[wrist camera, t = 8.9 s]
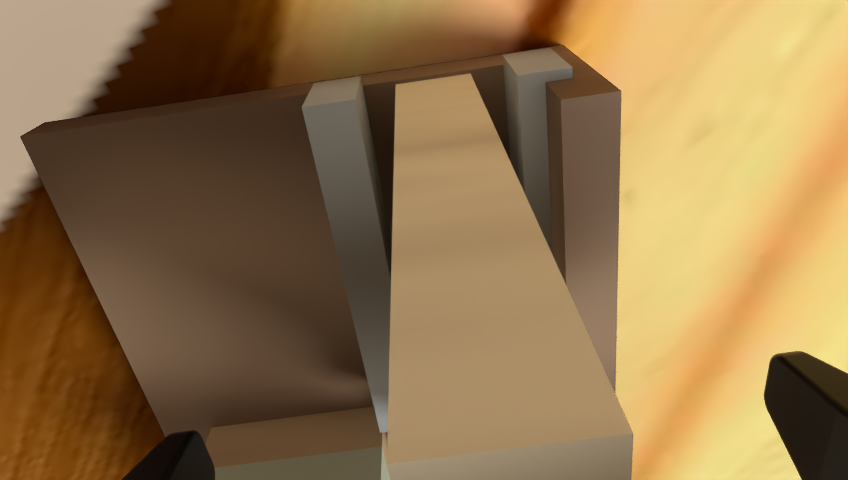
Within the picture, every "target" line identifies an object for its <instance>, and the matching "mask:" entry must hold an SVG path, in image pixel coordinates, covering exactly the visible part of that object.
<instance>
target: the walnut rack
mask: <svg viewBox="0 0 848 480" xmlns="http://www.w3.org/2000/svg"><path fill="white" fill-rule="evenodd" d="M469 73H471V76H472V78H473V80H474V82H475V85H476V87H477V89H478V91H479V93H480V96H481V98H482V100H483V102H484V104H485V107H486V109H487V111H488V113H489V115H490V118H491V120H492V122H493V124H494V127H495V129H496V131H497V133H498V135H499V138H500V140H501V142H502V144H503V146H504V149H505V151H506V153H507V155H508V158H509V160H510V162H511V164H512V166H513V169H514V171H515V173H516V175H517V177H518V180H519V182H520V184H521V186H522V189H523V191H524V193H525V195H526V197H527V200H528V202H529V204H530V206H531V208H532V211H533V213H534V215H535V217H536V220H537V222H538V224H539V226H540V228H541V231H542V233H543V235H544V237H545V239H546V242H547V244H548V246H549V248H550V251H551V253H552V255H553V257H554V259H555V262H556V264H557V266H558V268H559V270H560V273H561V275H562V277H563V279H564V282H565V284H566V286H567V288H568V290H569V293H570V295H571V297H572V299H573V301H574V304H575V306H576V308H577V310H578V313H579V315H580V317H581V319H582V321H583V324H584V326H585V328H586V330H587V332H588V335H589V337H590V339H591V341H592V344H593V346H594V348H595V350H596V352H597V355H598V357H599V359H600V361H601V363H602V366H603V368H604V370H605V372H606V375H607V377H608V379H609V381H610V383H611V386H612V388H613V390H614V392H615V381H616V330H617V280H618V230H619V179H620V129H621V90H619V89H618V88H617V87H616V86H614V85H613V84H612V83H611V82H609V81H608V80H607V79H606V78H604V77H603V76H602V75H600V74H599V73H598V72H597V71H595V70H594V69H593V68H592V67H590V66H589V65H588V64H586V63H585V62H584V61H583V60H581V59H580V58H579V57H578V56H576V55H575V54H574V53H573V52H571V51H570V50H569V49H567V48H566V47H565V46H564V45H560V46H553V47H546V48H540V49H533V50H526V51H520V52H513V53H506V54H500V55H493V56H486V57H479V58H473V59H466V60H459V61H453V62H446V63H439V64H433V65H426V66H419V67H413V68H406V69H399V70H393V71H386V72H379V73H372V74H366V75H359V76H352V77H346V78H339V79H332V80H326V81H319V82H312V83H306V84H299V85H292V86H286V87H279V88H272V89H266V90H259V91H252V92H245V93H239V94H232V95H225V96H219V97H212V98H205V99H199V100H192V101H185V102H179V103H172V104H165V105H159V106H152V107H145V108H138V109H132V110H125V111H118V112H112V113H105V114H98V115H92V116H85V117H78V118H72V119H65V120H58V121H52V122H45V123H43V124H41V125H39V126H38V127H36V128H34V129H32V130H31V131H29V132H27V133H26V134H24V135H22V136H21V139H22V141H23V144H24V146H25V148H26V150H27V152H28V154H29V156H30V158H31V160H32V162H33V164H34V166H35V168H36V170H37V172H38V175H39V177H40V179H41V181H42V183H43V185H44V187H45V189H46V191H47V193H48V195H49V197H50V199H51V201H52V204H53V206H54V208H55V210H56V212H57V214H58V216H59V218H60V220H61V222H62V224H63V226H64V228H65V230H66V232H67V235H68V237H69V239H70V241H71V243H72V245H73V247H74V249H75V251H76V253H77V255H78V257H79V259H80V261H81V264H82V266H83V268H84V270H85V272H86V274H87V276H88V278H89V280H90V282H91V284H92V286H93V288H94V290H95V293H96V295H97V297H98V299H99V301H100V303H101V305H102V307H103V309H104V311H105V313H106V315H107V317H108V319H109V321H110V324H111V326H112V328H113V330H114V332H115V334H116V336H117V338H118V340H119V342H120V344H121V346H122V348H123V350H124V353H125V355H126V357H127V359H128V361H129V363H130V365H131V367H132V369H133V371H134V373H135V375H136V377H137V379H138V382H139V384H140V386H141V388H142V390H143V392H144V394H145V396H146V398H147V400H148V402H149V404H150V406H151V408H152V410H153V413H154V415H155V417H156V419H157V421H158V423H159V425H160V427H161V429H162V431H163V433H164V435H165V437H166V436H168V435H169V434H171V433H173V432H179V431H187V430H196V431H198V432H199V433H200V435H201V436H202V439H203V441H204V443H205V444H206V441H207V438H208V436H209V433H210V430H211V428H213V427H221V426H228V425H236V424H244V423H251V422H259V421H267V420H274V419H282V418H290V417H297V416H305V415H313V414H320V413H328V412H336V411H343V410H351V409H359V408H366V407H374V409H375V413H376V418H377V422H378V426H379V430H380V433H383V432H388V394H389V350H390V306H391V262H392V219H393V175H394V131H395V87H396V84H402V83H408V82H415V81H422V80H429V79H435V78H442V77H449V76H456V75H462V74H469Z"/></svg>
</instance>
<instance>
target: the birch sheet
mask: <svg viewBox="0 0 848 480" xmlns="http://www.w3.org/2000/svg"><path fill="white" fill-rule="evenodd" d="M632 450H633V432H632V430H631V428H630V425H629V423H628V421H627V419H626V417H625V414H624V412H623V410H622V408H621V406H620V403H619V401H618V399H617V397H616V394H615V392H614V390H613V388H612V386H611V383H610V381H609V379H608V377H607V375H606V372H605V370H604V368H603V366H602V363H601V361H600V359H599V357H598V355H597V352H596V350H595V348H594V346H593V344H592V341H591V339H590V337H589V335H588V332H587V330H586V328H585V326H584V324H583V321H582V319H581V317H580V315H579V313H578V310H577V308H576V306H575V304H574V301H573V299H572V297H571V295H570V293H569V290H568V288H567V286H566V284H565V282H564V279H563V277H562V275H561V273H560V270H559V268H558V266H557V264H556V262H555V259H554V257H553V255H552V253H551V251H550V248H549V246H548V244H547V242H546V239H545V237H544V235H543V233H542V231H541V228H540V226H539V224H538V222H537V220H536V217H535V215H534V213H533V211H532V208H531V206H530V204H529V202H528V200H527V197H526V195H525V193H524V191H523V189H522V186H521V184H520V182H519V180H518V177H517V175H516V173H515V171H514V169H513V166H512V164H511V162H510V160H509V158H508V155H507V153H506V151H505V149H504V146H503V144H502V142H501V140H500V138H499V135H498V133H497V131H496V129H495V127H494V124H493V122H492V120H491V118H490V115H489V113H488V111H487V109H486V107H485V104H484V102H483V100H482V98H481V96H480V93H479V91H478V89H477V87H476V85H475V82H474V80H473V78H472V76H471V73H469V74H462V75H456V76H449V77H442V78H435V79H429V80H422V81H415V82H408V83H402V84H396V87H395V131H394V175H393V219H392V262H391V306H390V350H389V394H388V438H387V467H388V471H389V475H390V480H631V474H632Z"/></svg>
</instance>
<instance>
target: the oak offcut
mask: <svg viewBox="0 0 848 480" xmlns="http://www.w3.org/2000/svg"><path fill="white" fill-rule="evenodd" d="M387 438H388V432H383V433H380V430H379V426H378V422H377V418H376V413H375V409H374V407H366V408H359V409H351V410H343V411H336V412H328V413H320V414H313V415H305V416H297V417H290V418H282V419H274V420H267V421H259V422H251V423H244V424H236V425H228V426H221V427H213V428H211V430H210V433H209V436H208V438H207V441H206V444H205V445H206V448H207V450H208V452H209V454H210V457H211V459H212V461H213V464H214V468H217V467H225V466H233V465H241V464H248V463H256V462H264V461H272V460H280V459H288V458H295V457H303V456H311V455H319V454H327V453H334V452H342V451H350V450H358V449H366V448H374V447H381V446H382V448H383V453H384V457H385V461H386V465H387ZM387 469H388V467H387ZM388 473H389V471H388ZM389 477H390V475H389Z"/></svg>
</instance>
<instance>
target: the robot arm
mask: <svg viewBox="0 0 848 480" xmlns="http://www.w3.org/2000/svg"><path fill="white" fill-rule="evenodd" d="M764 400H765V405H766V408H767V410H768V412H769V414H770V416H771V418H772V420H773V422H774V424H775V426H776V428H777V430H778V432H779V435H780V437H781V439H782V441H783V443H784V445H785V447H786V449H787V451H788V453H789V455H790V457H791V459H792V461H793V463H794V465H795V467H796V469H797V471H798V473H799V475H800V477H801V479H802V480H848V373H846V372H844V371H841V370H839V369H837V368H835V367H833V366H831V365H829V364H827V363H825V362H823V361H821V360H819V359H817V358H815V357H813V356H811V355H809V354H807V353H805V352H801V351H795V352H787V353H779V354H776V355H774V356H773V357H772V358H771V360H770V363H769V369H768V375H767V380H766V386H765V391H764ZM122 480H215V468H214V464H213V461H212V459H211V457H210V454H209V452H208V450H207V448H206V445H205V443H204V441H203V439H202V436H201V435H200V433H199V432H198V431H196V430H187V431H179V432H173V433H171V434H169V435H168V436H166V437H165V438H164V439H163V440H162V441H161V442H160V443H159V444H158V445H157V446H156V447H155V448H154V449H153V450H152V451H151V452H150V453H149V454H148V455H147V456H146V457H145V458H144V459H143V460H141V461H140V462H139V463H138V464H137V465H136V466H135V467H134V468H133V469H132V470H131V471H130V472H129V473H128V474H127V475H126V476H125V477H124V478H123V479H122Z"/></svg>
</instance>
